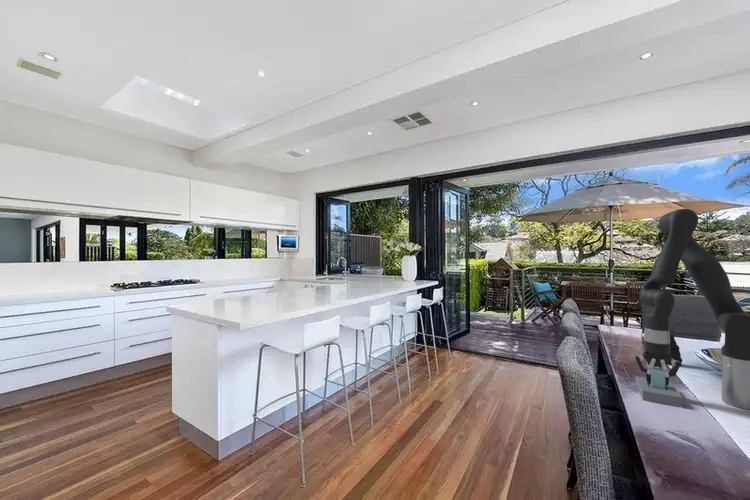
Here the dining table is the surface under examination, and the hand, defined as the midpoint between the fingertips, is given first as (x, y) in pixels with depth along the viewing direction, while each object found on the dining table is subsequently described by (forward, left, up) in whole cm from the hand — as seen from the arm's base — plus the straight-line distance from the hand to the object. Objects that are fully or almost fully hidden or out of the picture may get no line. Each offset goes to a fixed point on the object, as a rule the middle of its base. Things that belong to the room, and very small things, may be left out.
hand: (657, 384), depth 123 cm
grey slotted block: (0, 0, -4) cm, 4 cm away
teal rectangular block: (0, 0, -2) cm, 2 cm away
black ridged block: (+11, -46, -4) cm, 48 cm away
